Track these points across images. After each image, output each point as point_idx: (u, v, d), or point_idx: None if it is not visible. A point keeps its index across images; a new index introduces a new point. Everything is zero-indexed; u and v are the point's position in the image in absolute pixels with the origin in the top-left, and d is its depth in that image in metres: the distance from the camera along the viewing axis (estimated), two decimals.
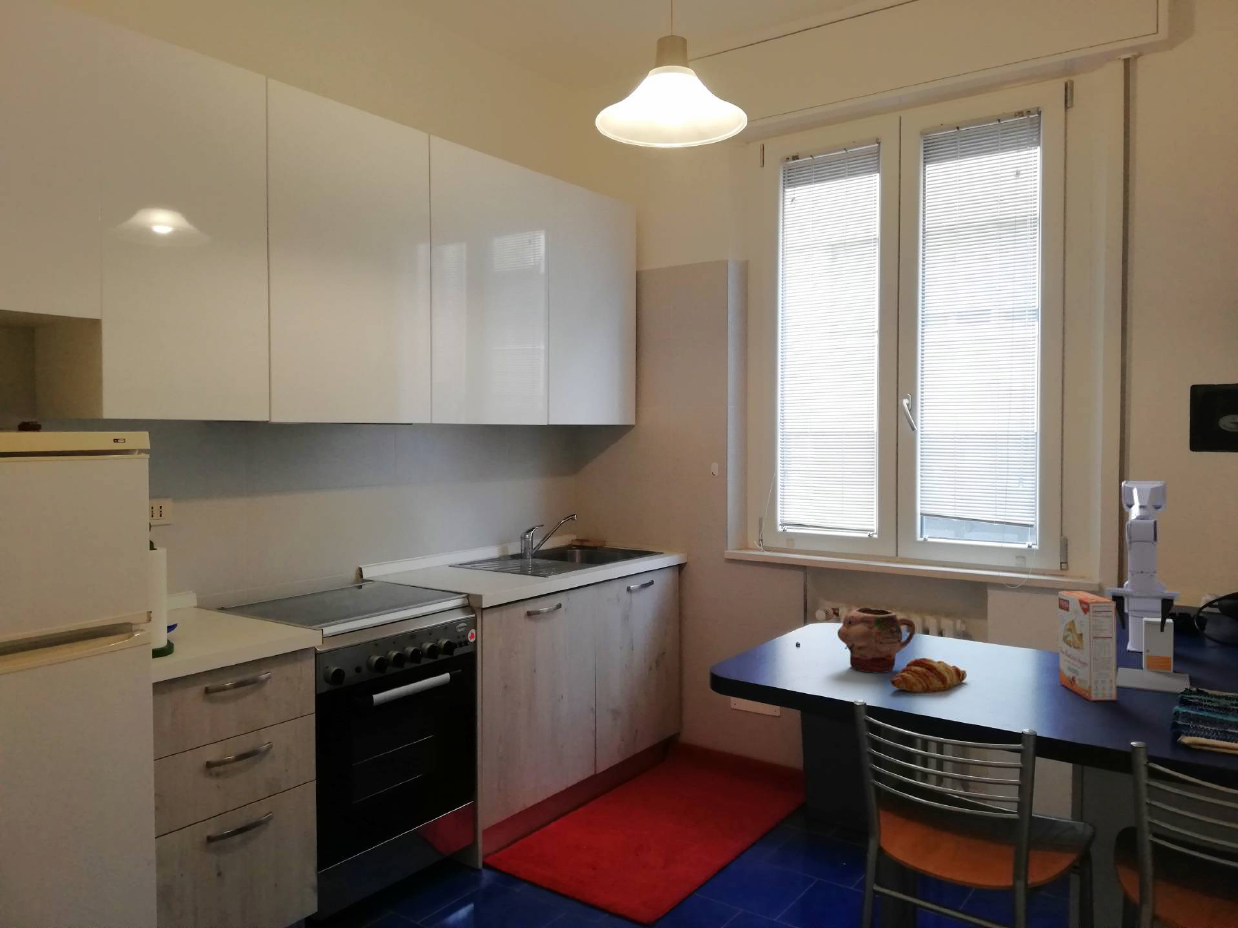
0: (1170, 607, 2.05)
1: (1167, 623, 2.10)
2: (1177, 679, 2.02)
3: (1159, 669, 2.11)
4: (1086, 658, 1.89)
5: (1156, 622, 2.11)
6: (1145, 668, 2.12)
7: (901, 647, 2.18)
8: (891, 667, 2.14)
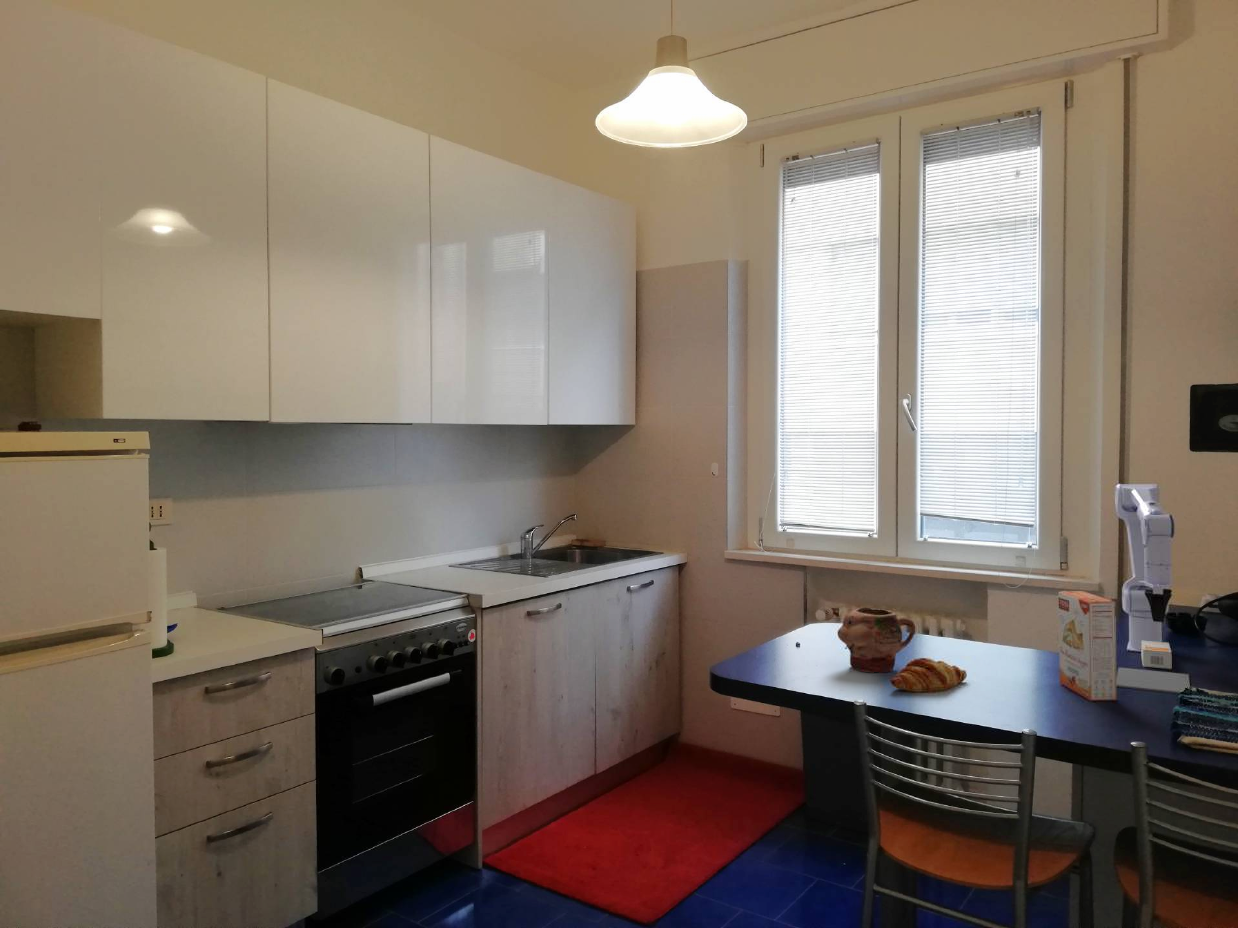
0: (1146, 596, 2.17)
1: (1163, 642, 2.24)
2: (1177, 679, 2.02)
3: (1158, 650, 2.15)
4: (1086, 659, 1.89)
5: (1153, 641, 2.25)
6: (1144, 649, 2.16)
7: (901, 647, 2.18)
8: (891, 667, 2.14)
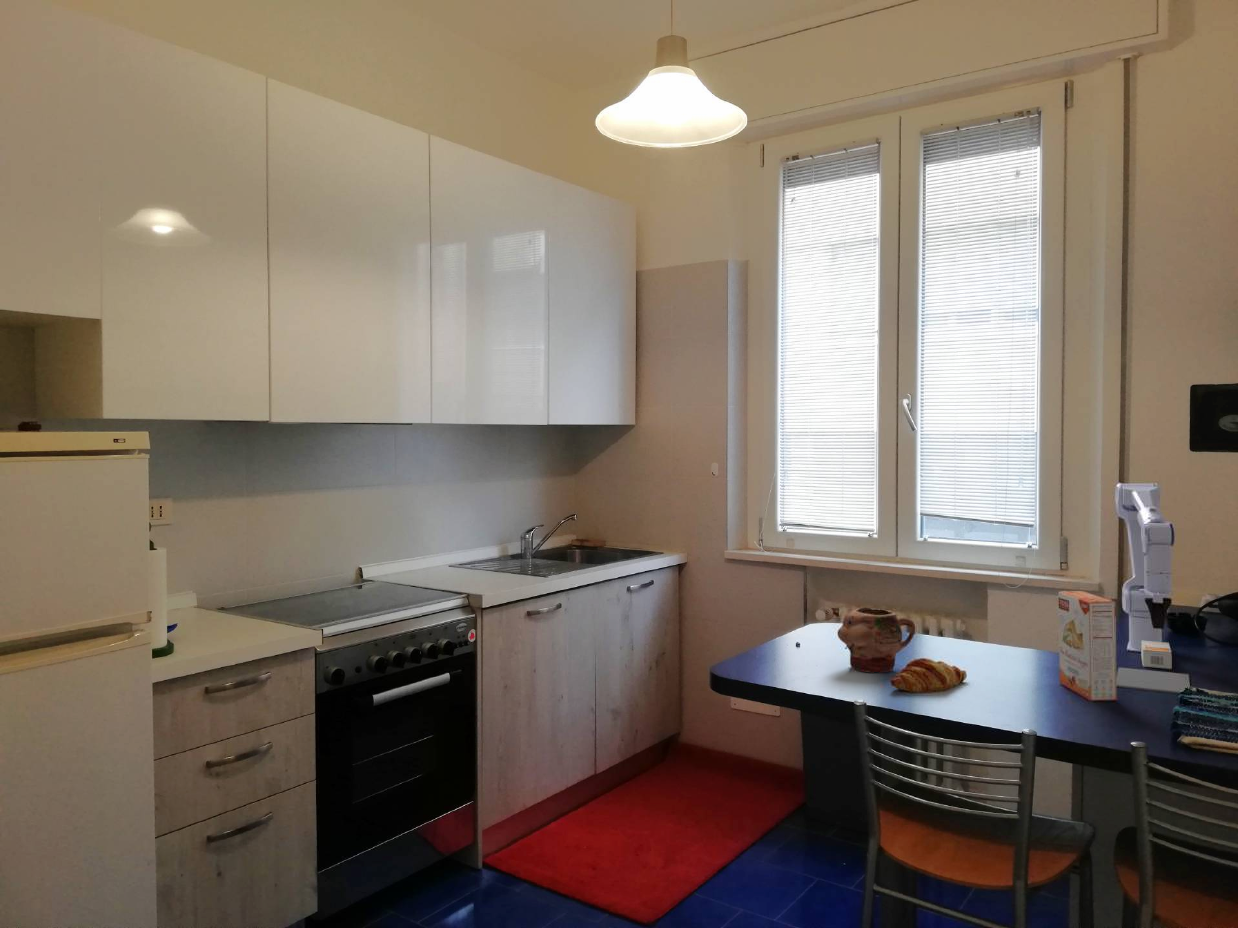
0: (1146, 603, 2.19)
1: (1163, 642, 2.24)
2: (1177, 679, 2.02)
3: (1158, 650, 2.15)
4: (1085, 659, 1.89)
5: (1153, 641, 2.25)
6: (1144, 649, 2.16)
7: (901, 647, 2.18)
8: (891, 667, 2.14)
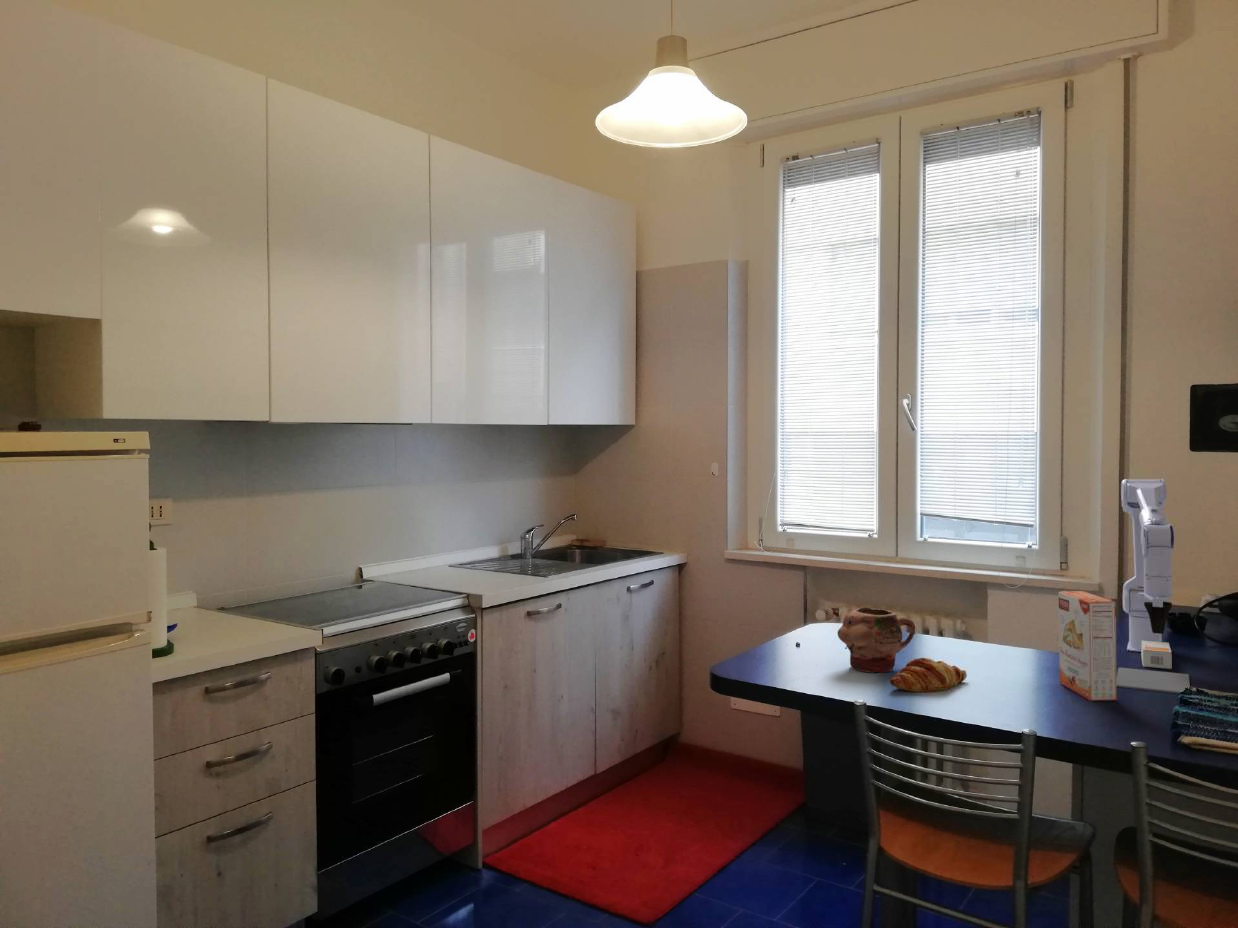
0: (1145, 608, 2.13)
1: (1163, 642, 2.24)
2: (1177, 679, 2.02)
3: (1158, 650, 2.15)
4: (1086, 659, 1.89)
5: (1153, 641, 2.25)
6: (1144, 649, 2.16)
7: (901, 647, 2.18)
8: (891, 667, 2.14)
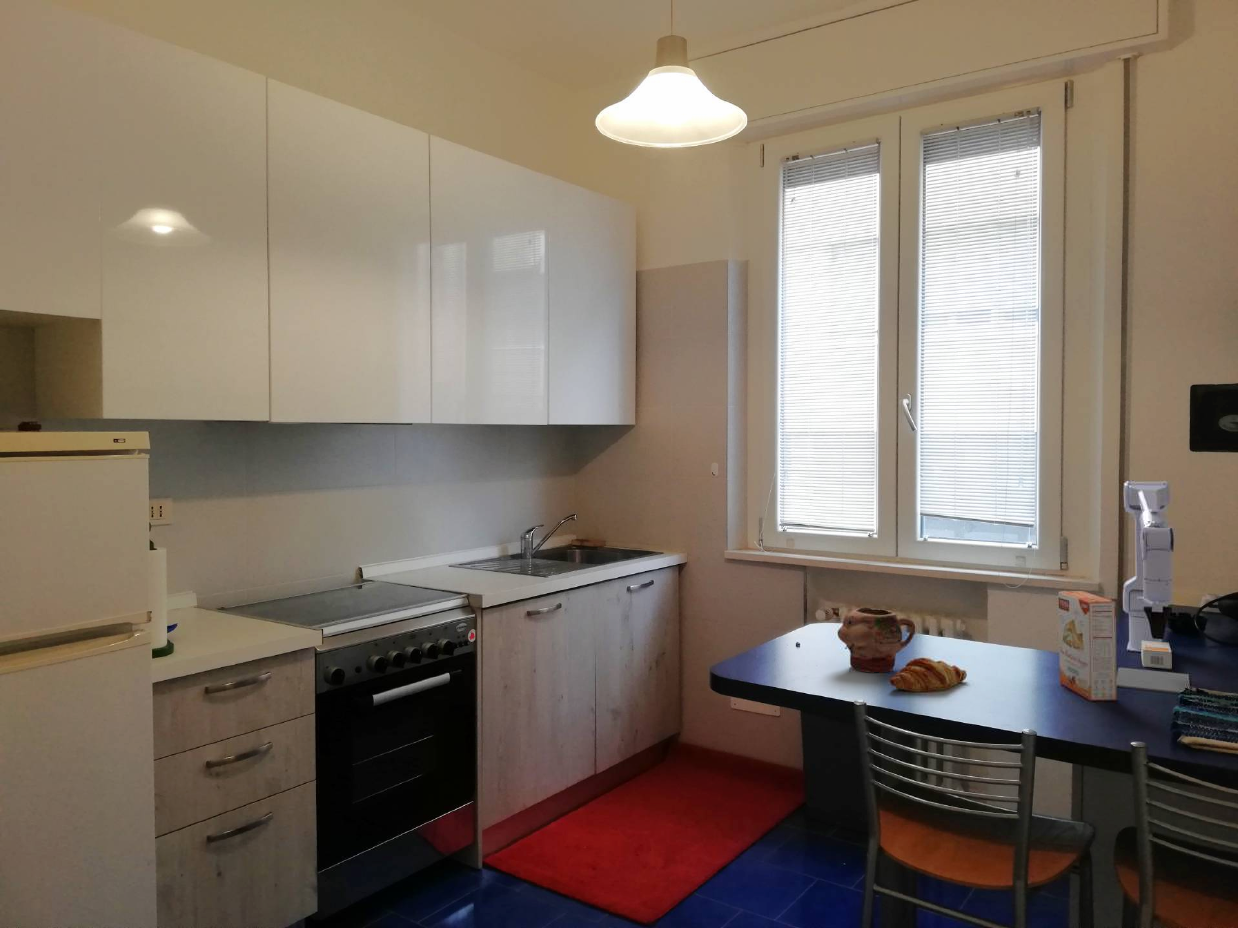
0: (1145, 612, 2.07)
1: (1163, 642, 2.24)
2: (1177, 679, 2.02)
3: (1158, 650, 2.15)
4: (1086, 658, 1.89)
5: (1153, 641, 2.25)
6: (1144, 649, 2.16)
7: (901, 647, 2.18)
8: (891, 667, 2.14)
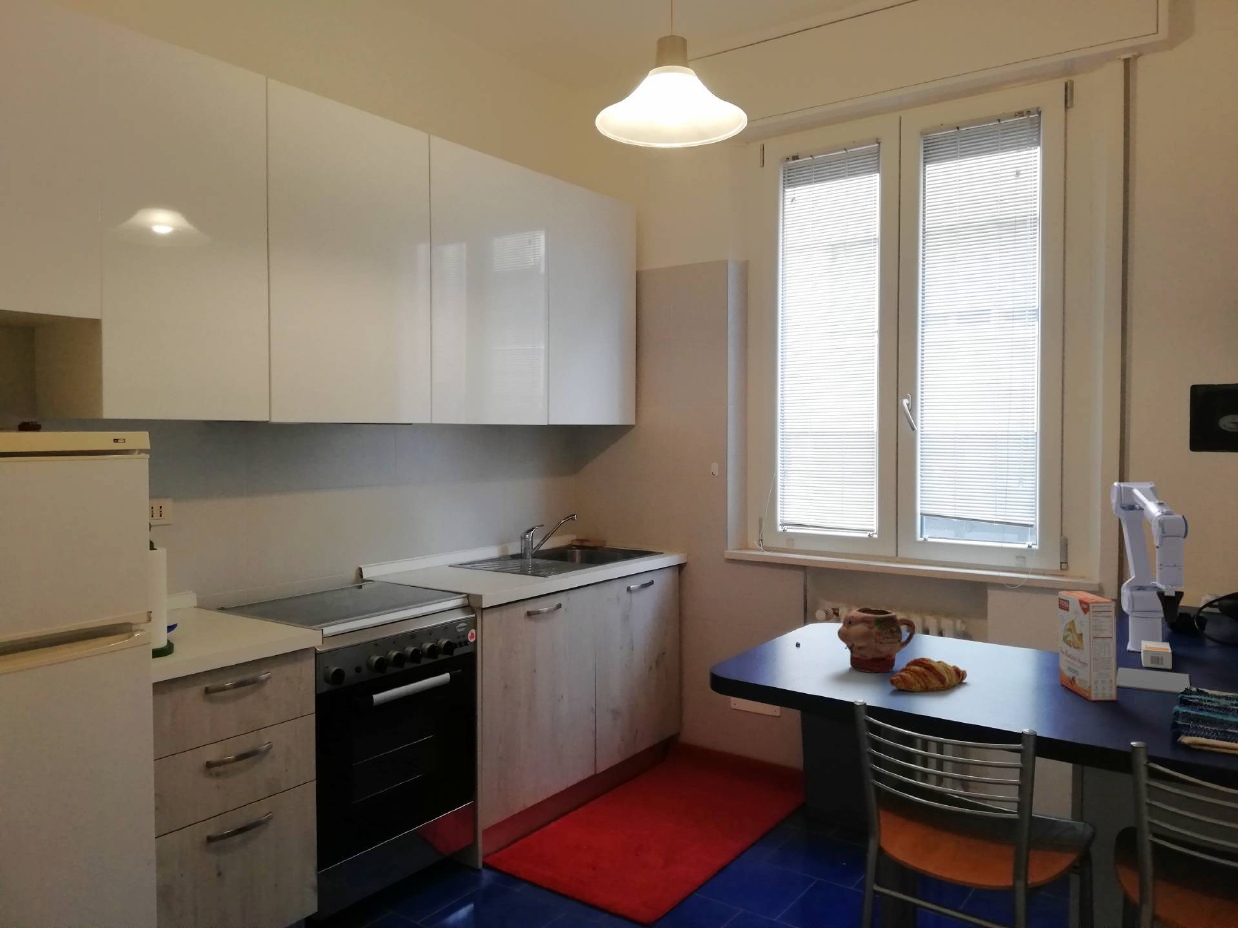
0: (1158, 596, 2.17)
1: (1163, 642, 2.24)
2: (1177, 679, 2.02)
3: (1158, 650, 2.15)
4: (1086, 658, 1.89)
5: (1153, 641, 2.25)
6: (1144, 649, 2.16)
7: (901, 647, 2.18)
8: (891, 667, 2.14)
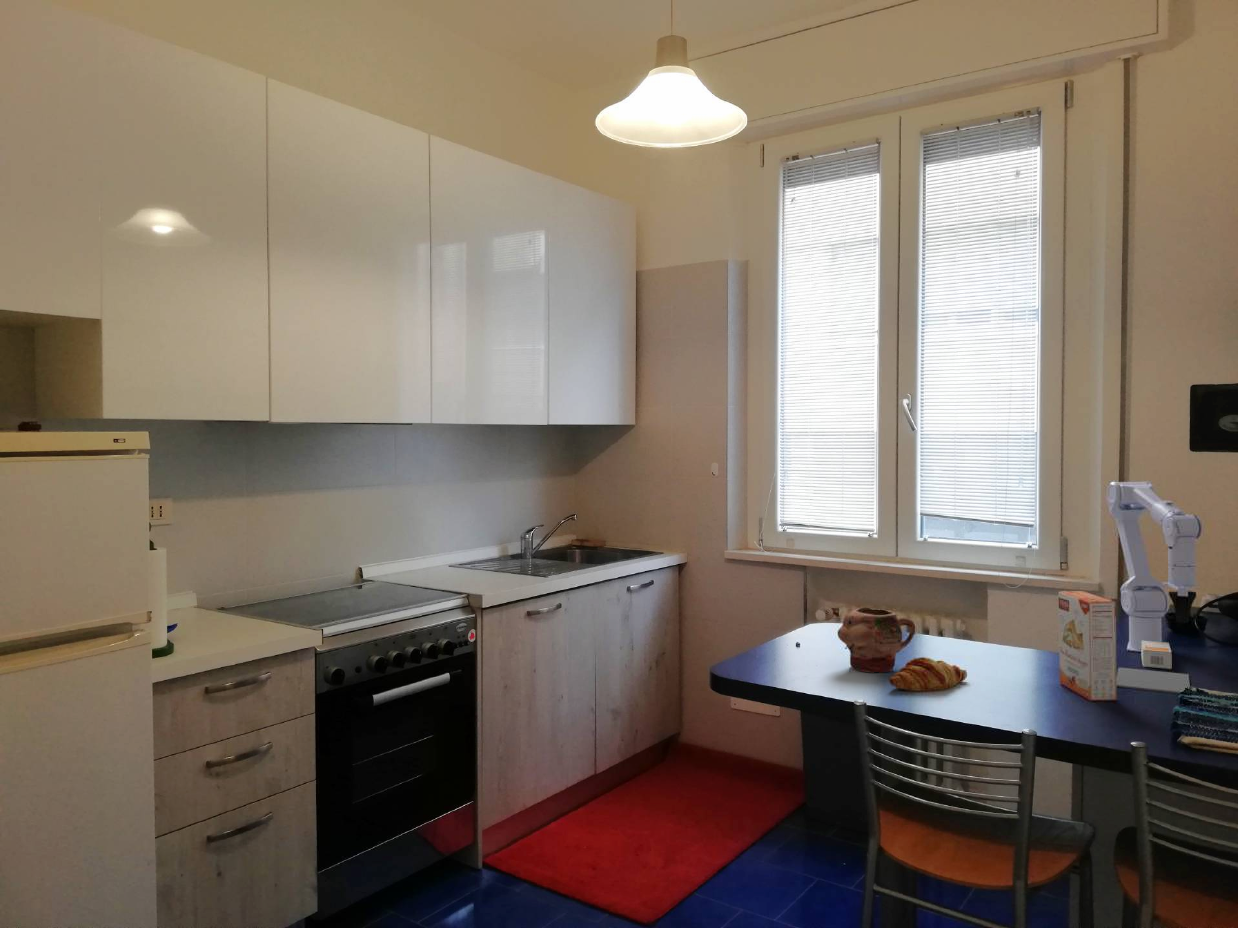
0: (1170, 597, 2.16)
1: (1163, 642, 2.24)
2: (1177, 679, 2.02)
3: (1158, 650, 2.15)
4: (1086, 658, 1.89)
5: (1153, 641, 2.25)
6: (1144, 649, 2.16)
7: (901, 647, 2.18)
8: (891, 667, 2.14)
